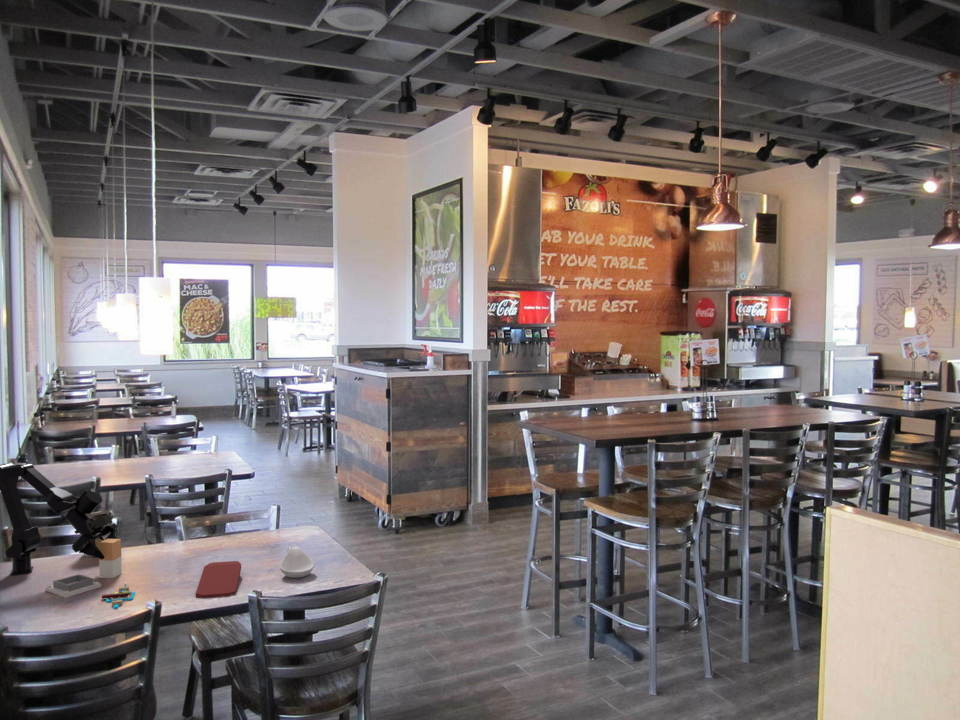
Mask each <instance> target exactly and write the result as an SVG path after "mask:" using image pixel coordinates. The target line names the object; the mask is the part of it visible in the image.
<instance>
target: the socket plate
mask: <svg viewBox="0 0 960 720" xmlns="http://www.w3.org/2000/svg"><path fill="white" fill-rule="evenodd" d="M52 583H53V584H49V585H47V586H46V587H45V588H44V589H45V590H44V591H45V592H48V593H51V594H54V595H57V596H60V597H63V598H68V597H72V596H75V595H79V594H81V593H85V592H89V591H91V590H95V589H98V588H101V587H102V583H100V582H99V581H94V577H93V578H92V577H91V576H87V575H83V574H80V573H77V574H73V575H70V576H67V577H63V578H60V579H56V580H53V581H52Z"/></svg>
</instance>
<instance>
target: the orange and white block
mask: <svg viewBox="0 0 960 720" xmlns="http://www.w3.org/2000/svg"><path fill="white" fill-rule="evenodd" d="M99 550H100V551H101V552H102V554H103V555H104V557H105V558H104V559H99V558H98V565H99V569H98V570H99V579H101V578H102V579H115V578H116V577H118V576H120V575H121V574H122V539H121V538H117V539H106V540H104V541H101V542H99Z"/></svg>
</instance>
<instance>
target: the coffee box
mask: <svg viewBox="0 0 960 720" xmlns="http://www.w3.org/2000/svg"><path fill="white" fill-rule="evenodd" d="M106 512H109V513H110V514H111V515H113V514H112V512H111V511H110V510H108V509H106V510H99V511H93V512H92V513H90V514H87V515H88V516H89V517H90V518H95V519H98V518H100V517H102V514H104V513H106ZM109 524H111V523H108V524H106V525H104V527H105V526H107V525H109ZM103 529H104V528H103ZM103 529H102V530H103ZM102 530H101V531H102ZM101 541H104V540H100V539H99V538H98V539H96V540H95V545H96V546H97V547H98V549H99V542H101ZM83 555H84V556H86V558H95V557H94V556H91V555H87V554H84V553H83Z"/></svg>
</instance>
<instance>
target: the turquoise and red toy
mask: <svg viewBox="0 0 960 720" xmlns="http://www.w3.org/2000/svg"><path fill="white" fill-rule="evenodd" d="M135 595H136V591H130V586H128V585H127V582H124V586H120V587H119V588H118V591H117V592H116V591H115V592H113V593H108V594H102V595H101V599H102V600H103V599H106V600H105V603H111V606H112V607H113V608H112V609H113V610H117V609H119V607H120V606H123V605H124V604H123V603H124V601H125V602H126V601H127V602H128V601H133V600H134V598H135Z"/></svg>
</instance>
